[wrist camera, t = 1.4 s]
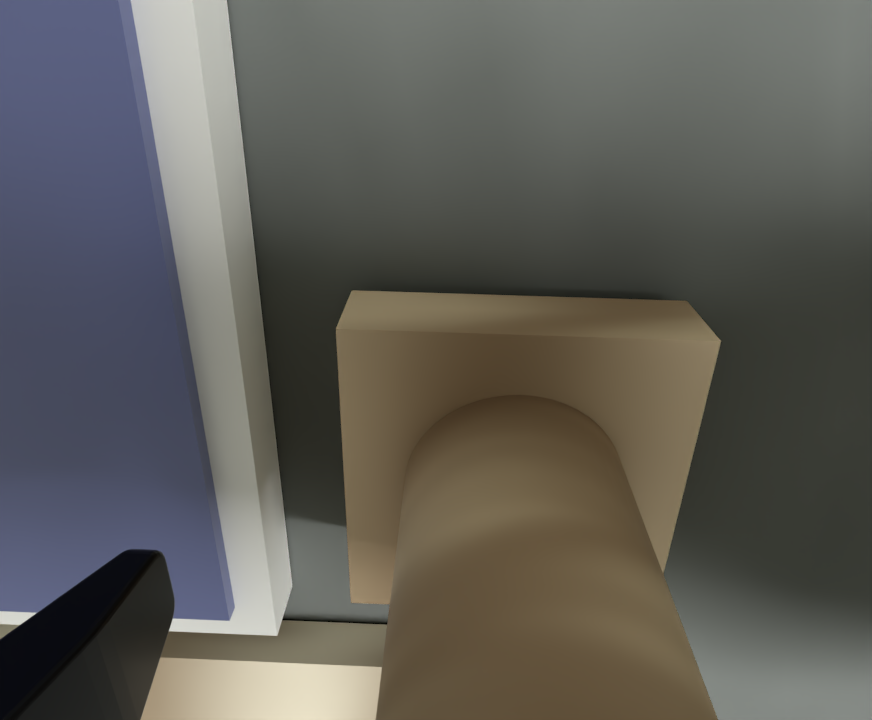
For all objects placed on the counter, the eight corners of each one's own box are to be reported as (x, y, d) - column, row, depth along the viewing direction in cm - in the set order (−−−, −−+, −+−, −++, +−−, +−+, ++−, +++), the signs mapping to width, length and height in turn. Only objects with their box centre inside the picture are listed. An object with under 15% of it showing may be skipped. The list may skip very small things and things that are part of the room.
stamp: (679, 291, 10) (1024, 701, 4) (627, 538, 12) (794, 1040, 6) (355, 281, 10) (194, 664, 4) (364, 528, 12) (274, 1011, 6)
